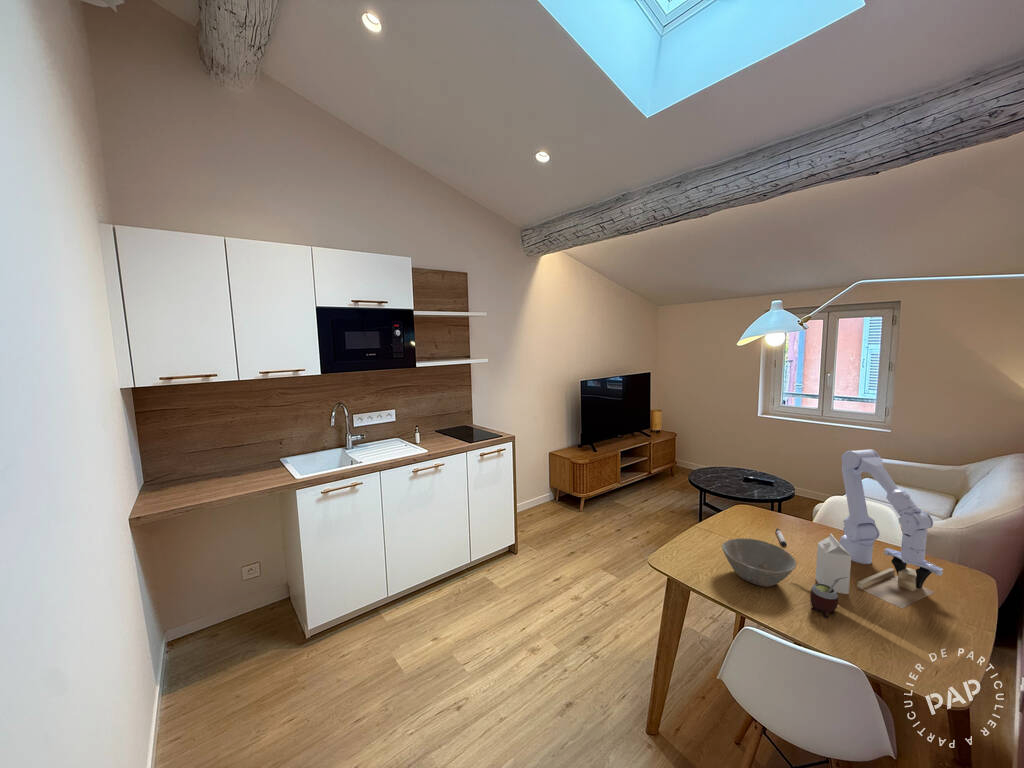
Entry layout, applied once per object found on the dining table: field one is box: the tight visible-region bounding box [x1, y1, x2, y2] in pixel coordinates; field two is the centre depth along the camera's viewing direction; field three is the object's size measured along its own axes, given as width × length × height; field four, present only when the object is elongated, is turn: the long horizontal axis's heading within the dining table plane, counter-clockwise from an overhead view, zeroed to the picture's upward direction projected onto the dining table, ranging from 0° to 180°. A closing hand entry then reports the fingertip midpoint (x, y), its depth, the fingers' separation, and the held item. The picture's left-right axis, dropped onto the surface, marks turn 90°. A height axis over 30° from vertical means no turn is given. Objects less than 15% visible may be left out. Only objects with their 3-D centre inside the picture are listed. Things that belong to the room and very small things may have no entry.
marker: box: [775, 527, 788, 547], centre depth 174 cm, size 15×2×2 cm, turn 156°
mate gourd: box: [809, 577, 847, 619], centre depth 127 cm, size 8×8×15 cm
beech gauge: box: [897, 567, 918, 592], centre depth 136 cm, size 4×6×5 cm, turn 112°
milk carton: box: [815, 533, 852, 595], centre depth 137 cm, size 7×7×19 cm
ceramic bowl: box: [721, 537, 797, 588], centre depth 145 cm, size 22×23×10 cm
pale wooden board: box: [856, 567, 935, 610], centre depth 135 cm, size 12×20×4 cm, turn 112°
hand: (910, 583), depth 137 cm, fingers closed on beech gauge, 4 cm apart
